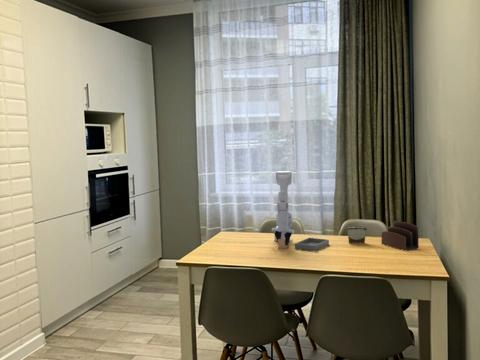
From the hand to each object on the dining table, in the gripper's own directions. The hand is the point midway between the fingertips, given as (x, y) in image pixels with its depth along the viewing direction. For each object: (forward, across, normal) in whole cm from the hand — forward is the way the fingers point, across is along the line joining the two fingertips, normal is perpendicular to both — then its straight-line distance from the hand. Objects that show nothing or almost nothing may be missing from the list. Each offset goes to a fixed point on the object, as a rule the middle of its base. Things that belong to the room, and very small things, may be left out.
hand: (283, 244), depth 263 cm
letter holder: (+2, +58, +36) cm, 68 cm away
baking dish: (+2, +14, +10) cm, 17 cm away
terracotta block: (+2, 0, 0) cm, 2 cm away
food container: (+2, +32, +34) cm, 47 cm away
